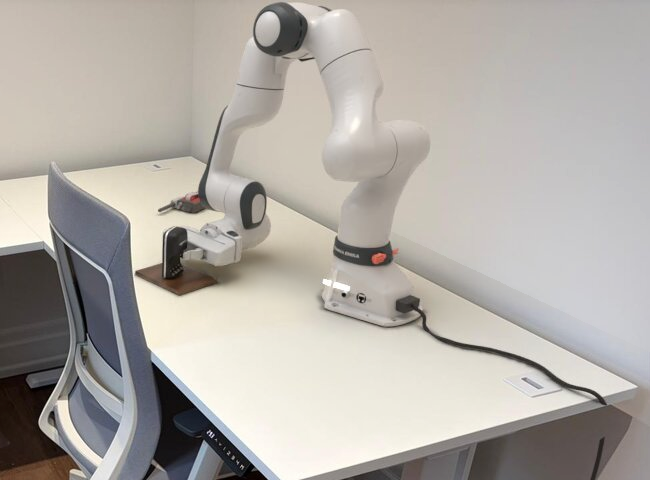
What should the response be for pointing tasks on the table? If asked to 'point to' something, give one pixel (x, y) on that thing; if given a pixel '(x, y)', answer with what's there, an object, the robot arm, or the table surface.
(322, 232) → the table surface
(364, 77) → the robot arm
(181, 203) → the walkie-talkie
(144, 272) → the board
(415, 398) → the table surface
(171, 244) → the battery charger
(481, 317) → the table surface
